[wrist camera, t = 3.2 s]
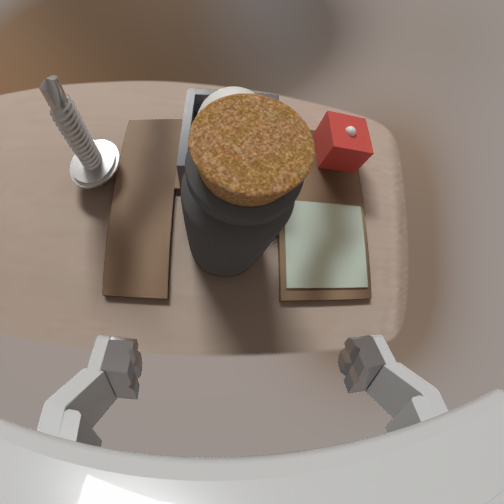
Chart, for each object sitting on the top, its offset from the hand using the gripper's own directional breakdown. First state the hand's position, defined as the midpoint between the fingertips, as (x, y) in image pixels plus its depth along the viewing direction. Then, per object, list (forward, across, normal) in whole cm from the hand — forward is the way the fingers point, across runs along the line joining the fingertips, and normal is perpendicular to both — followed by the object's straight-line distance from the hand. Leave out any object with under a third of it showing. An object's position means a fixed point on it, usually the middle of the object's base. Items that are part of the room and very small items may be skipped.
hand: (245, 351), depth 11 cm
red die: (+21, -10, -4) cm, 23 cm away
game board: (+17, -1, +1) cm, 17 cm away
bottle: (+14, 0, +4) cm, 15 cm away
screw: (+19, +12, -1) cm, 22 cm away
